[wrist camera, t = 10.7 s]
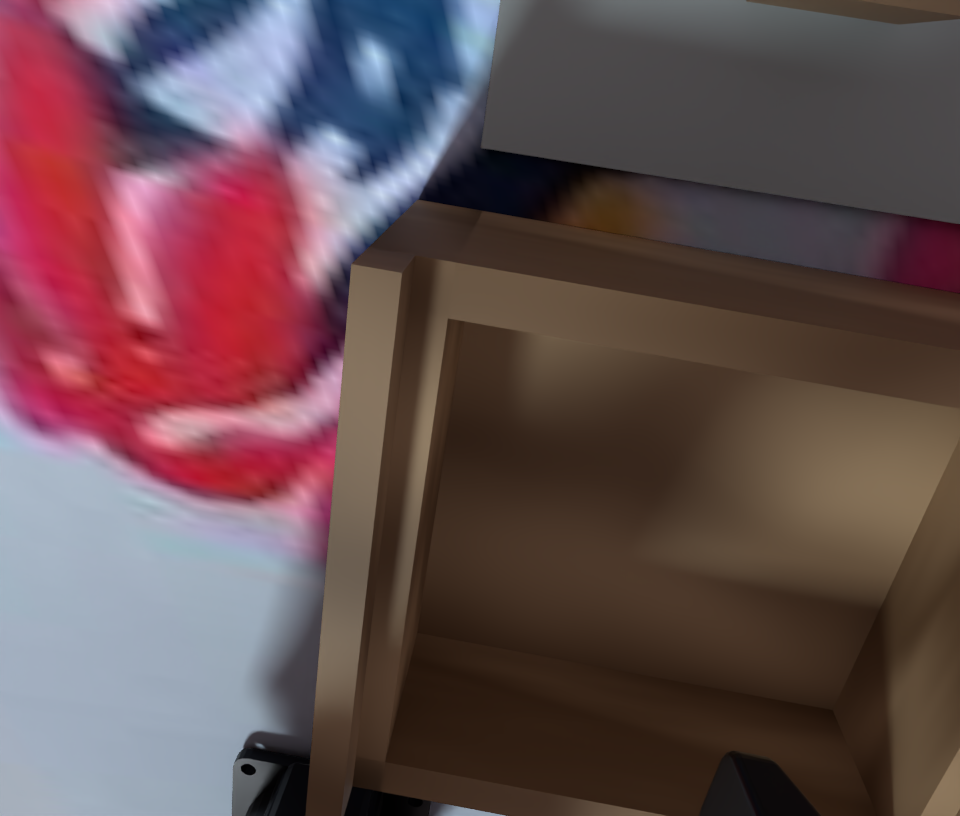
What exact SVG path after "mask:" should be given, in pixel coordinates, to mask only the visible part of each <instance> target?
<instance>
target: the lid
mask: <svg viewBox="0 0 960 816" xmlns="http://www.w3.org/2000/svg"><path fill="white" fill-rule="evenodd" d="M481 148H485V149H491V150H497V151H504V152H510V153H516V154H523V155H529V156H535V157H541V158H548V159H554V160H560V161H566V162H573V163H579V164H585V165H592V166H598V167H604V168H610V169H617V170H623V171H629V172H636V173H642V174H648V175H654V176H661V177H667V178H673V179H679V180H686V181H692V182H698V183H705V184H711V185H717V186H723V187H730V188H736V189H742V190H748V191H755V192H761V193H767V194H774V195H780V196H786V197H792V198H799V199H805V200H811V201H817V202H824V203H830V204H836V205H843V206H849V207H855V208H861V209H868V210H874V211H880V212H887V213H893V214H899V215H905V216H912V217H918V218H924V219H930V220H937V221H943V222H949V223H956V224H960V0H500V8H499V15H498V23H497V30H496V38H495V45H494V52H493V60H492V67H491V75H490V82H489V90H488V97H487V105H486V112H485V120H484V127H483V134H482V142H481Z"/></svg>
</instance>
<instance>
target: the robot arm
mask: <svg viewBox="0 0 960 816" xmlns="http://www.w3.org/2000/svg"><path fill="white" fill-rule="evenodd" d="M309 767H310V759H305V758H300V757H294V756H289V755H284V754H279V753H273V752H268V751H263V750H258V749H250V748H247V749H244V750H242V751H241V752H239V754H238V756H237V758H236V761H235V763H234V766H233V794H232V816H305V814H306V803H307V791H308V779H309ZM430 803H431V801H428V800H422V799H417V798H412V797H407V796H401V795H396V794H391V793H386V792H380V791H375V790H370V789H365V788H359V787H354V786H352V789H351V793H350V796H349V800H348V803H347V807H346V810H345V814H344V816H428V814H429V809H430ZM699 816H822V815H821V814H820V813H819V812H818V811H817V809H816V808H815V807H814V806H813V805H812V804H811V802H810V801H809V800H808V799H807V798H806V796H805V795H804V794H803V793H802V792H801V791H800V789H799V788H798V787H797V786H796V785H795V783H794V782H793V781H792V780H791V779H790V778H789V776H788V775H787V774H786V773H785V772H784V771H783V769H782V768H781V767H780V766H779V765H778V764H777V763H776V762H775V761H774V760H772V759H770V758H768V757H765V756H760V755H755V754H751V753H746V752H741V751H735V750H734V751H729V752H727V753H726V754H725V755H724V756H723V758H722V759H721V761H720V763H719V766H718V768H717V771H716V773H715V776H714V778H713V780H712V783H711V785H710V788H709V790H708V793H707V795H706V798H705V800H704V802H703V805H702V807H701V810H700V814H699Z"/></svg>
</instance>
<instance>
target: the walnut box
mask: <svg viewBox="0 0 960 816" xmlns="http://www.w3.org/2000/svg"><path fill="white" fill-rule="evenodd" d="M734 750H735V751H741V752H746V753H751V754H755V755H760V756H765V757H768V758H770V759H772V760H774V761H775V762H776V763H777V764H778V765H779V766H780V767H781V768H782V769H783V771H784V772H785V773H786V774H787V775H788V776H789V778H790V779H791V780H792V781H793V782H794V783H795V785H796V786H797V787H798V788H799V789H800V791H801V792H802V793H803V794H804V795H805V796H806V798H807V799H808V800H809V801H810V802H811V804H812V805H813V806H814V807H815V808H816V809H817V811H818V812H819V813H820V814H821V815H822V816H960V293H954V292H948V291H943V290H937V289H931V288H925V287H920V286H914V285H908V284H902V283H896V282H891V281H885V280H879V279H873V278H868V277H862V276H856V275H850V274H845V273H839V272H833V271H827V270H821V269H816V268H810V267H804V266H798V265H793V264H787V263H781V262H775V261H769V260H764V259H758V258H752V257H746V256H741V255H735V254H729V253H723V252H718V251H712V250H706V249H700V248H694V247H689V246H683V245H677V244H671V243H666V242H660V241H654V240H648V239H642V238H637V237H631V236H625V235H619V234H614V233H608V232H602V231H596V230H591V229H585V228H579V227H573V226H567V225H562V224H556V223H550V222H544V221H539V220H533V219H527V218H521V217H515V216H510V215H504V214H498V213H492V212H487V211H481V210H475V209H469V208H464V207H458V206H452V205H446V204H440V203H435V202H429V201H423V200H417V201H416V202H415V203H414V204H413V205H412V206H411V207H410V208H409V209H408V210H407V211H406V212H405V213H404V214H403V215H402V216H401V217H400V218H398V219H397V220H396V221H395V222H394V223H393V224H392V225H391V226H390V227H389V228H388V229H387V230H386V231H385V232H384V233H383V234H382V235H381V236H380V237H379V238H378V239H377V240H376V241H375V242H374V243H373V244H372V245H371V246H370V247H369V248H368V249H367V250H366V251H365V252H364V253H363V254H361V255H360V256H359V257H358V258H357V259H356V260H355V261H354V262H353V263H352V265H351V277H350V288H349V300H348V312H347V324H346V336H345V348H344V360H343V372H342V384H341V396H340V408H339V420H338V432H337V444H336V456H335V468H334V480H333V492H332V504H331V516H330V528H329V540H328V551H327V563H326V575H325V587H324V599H323V611H322V623H321V635H320V647H319V659H318V671H317V683H316V695H315V707H314V719H313V731H312V743H311V755H310V767H309V779H308V791H307V803H306V814H305V816H344V814H345V810H346V807H347V803H348V800H349V796H350V793H351V789H352V786H354V787H359V788H365V789H370V790H375V791H380V792H386V793H391V794H396V795H401V796H407V797H412V798H417V799H422V800H428V801H433V802H438V803H443V804H449V805H454V806H459V807H464V808H470V809H475V810H480V811H485V812H491V813H496V814H501V815H506V816H699V814H700V810H701V807H702V805H703V802H704V800H705V798H706V795H707V793H708V790H709V788H710V785H711V783H712V780H713V778H714V776H715V773H716V771H717V768H718V766H719V763H720V761H721V759H722V758H723V756H724V755H725V754H726V753H727V752H729V751H734Z"/></svg>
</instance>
